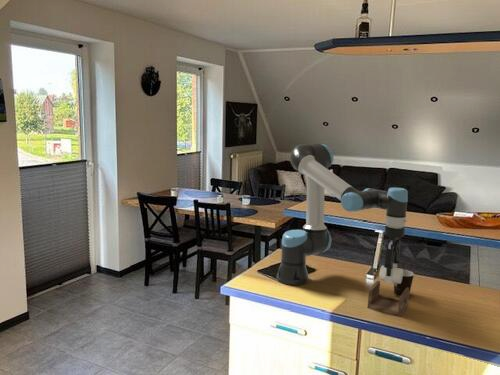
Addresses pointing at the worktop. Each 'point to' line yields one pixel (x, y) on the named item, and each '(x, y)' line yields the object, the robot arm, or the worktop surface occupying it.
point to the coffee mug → (404, 283)
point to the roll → (396, 274)
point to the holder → (387, 301)
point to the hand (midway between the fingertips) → (390, 280)
